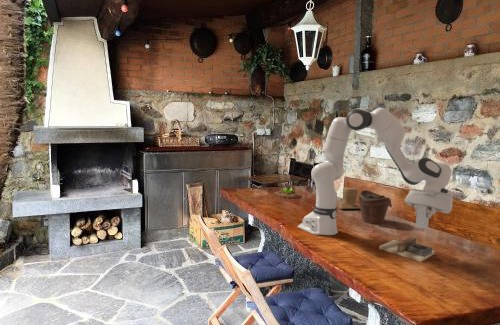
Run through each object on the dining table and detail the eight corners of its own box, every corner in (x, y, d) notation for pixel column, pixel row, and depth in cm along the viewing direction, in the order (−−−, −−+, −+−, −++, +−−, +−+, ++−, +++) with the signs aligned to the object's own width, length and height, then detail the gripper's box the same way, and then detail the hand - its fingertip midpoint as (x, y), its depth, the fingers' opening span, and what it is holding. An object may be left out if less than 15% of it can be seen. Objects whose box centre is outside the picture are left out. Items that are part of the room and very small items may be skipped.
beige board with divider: (379, 248, 175) (380, 237, 175) (393, 242, 185) (394, 232, 185) (420, 261, 160) (422, 250, 160) (434, 254, 170) (435, 242, 170)
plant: (287, 192, 303) (287, 179, 302) (304, 196, 289) (305, 183, 287) (269, 195, 291) (270, 181, 289) (287, 199, 276) (287, 185, 274)
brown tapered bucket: (391, 227, 212) (393, 197, 210) (355, 223, 218) (357, 194, 216) (389, 219, 229) (392, 191, 226) (357, 215, 235) (359, 188, 233)
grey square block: (415, 226, 167) (417, 205, 166) (419, 224, 170) (421, 204, 168) (424, 228, 164) (426, 207, 163) (428, 226, 167) (429, 205, 165)
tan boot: (353, 206, 261) (355, 185, 259) (361, 210, 250) (363, 189, 248) (334, 206, 258) (335, 186, 256) (341, 210, 247) (342, 189, 245)
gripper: (409, 184, 177) (398, 206, 172) (454, 191, 162) (444, 216, 156) (412, 192, 180) (402, 214, 175) (457, 200, 165) (446, 224, 160)
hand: (422, 215), depth 166 cm, fingers closed on grey square block, 4 cm apart
